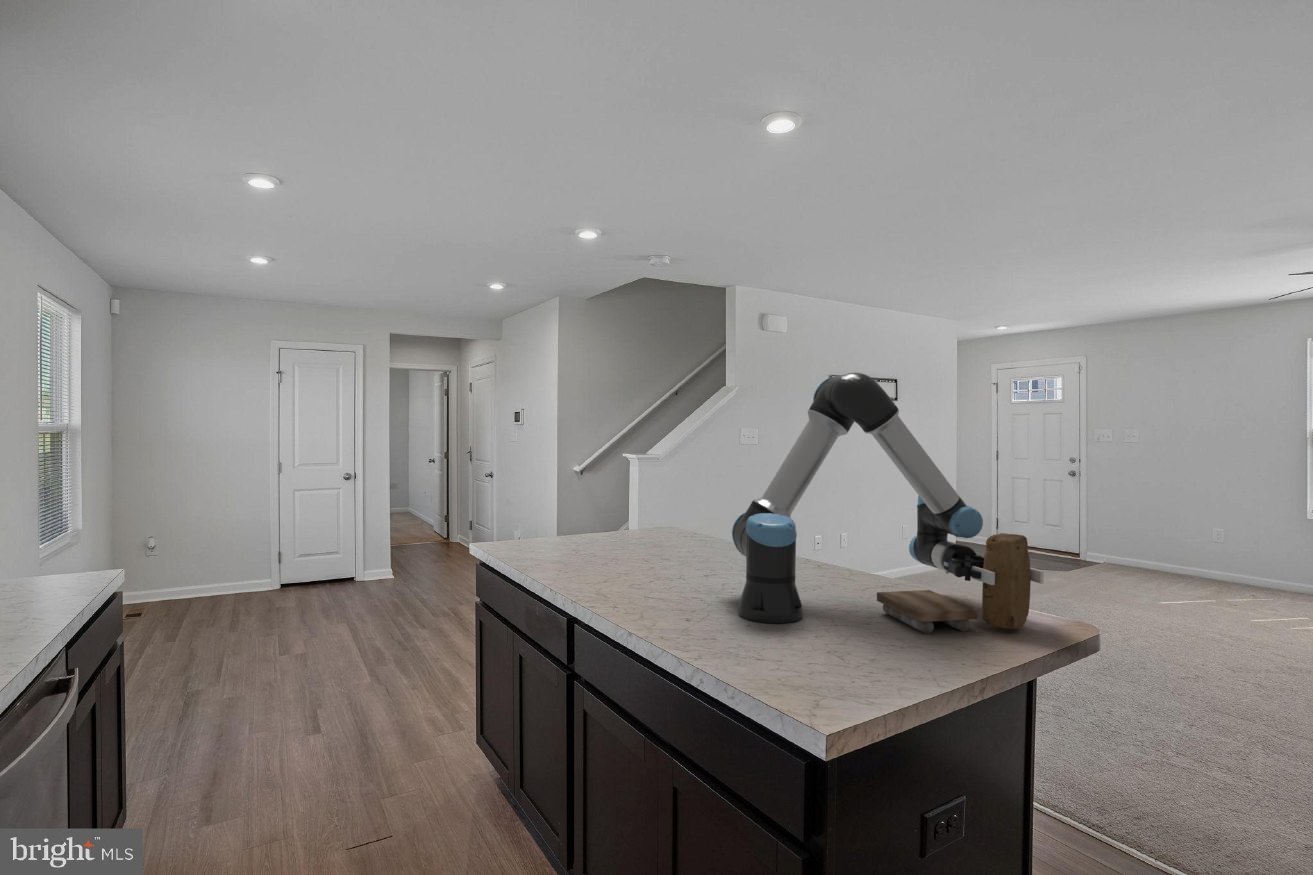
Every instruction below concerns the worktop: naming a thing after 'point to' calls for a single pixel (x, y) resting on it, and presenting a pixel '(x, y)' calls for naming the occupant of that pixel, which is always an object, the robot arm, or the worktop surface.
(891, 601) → the slab
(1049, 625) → the worktop surface
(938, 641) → the worktop surface
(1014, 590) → the block
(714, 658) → the worktop surface
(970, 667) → the worktop surface
